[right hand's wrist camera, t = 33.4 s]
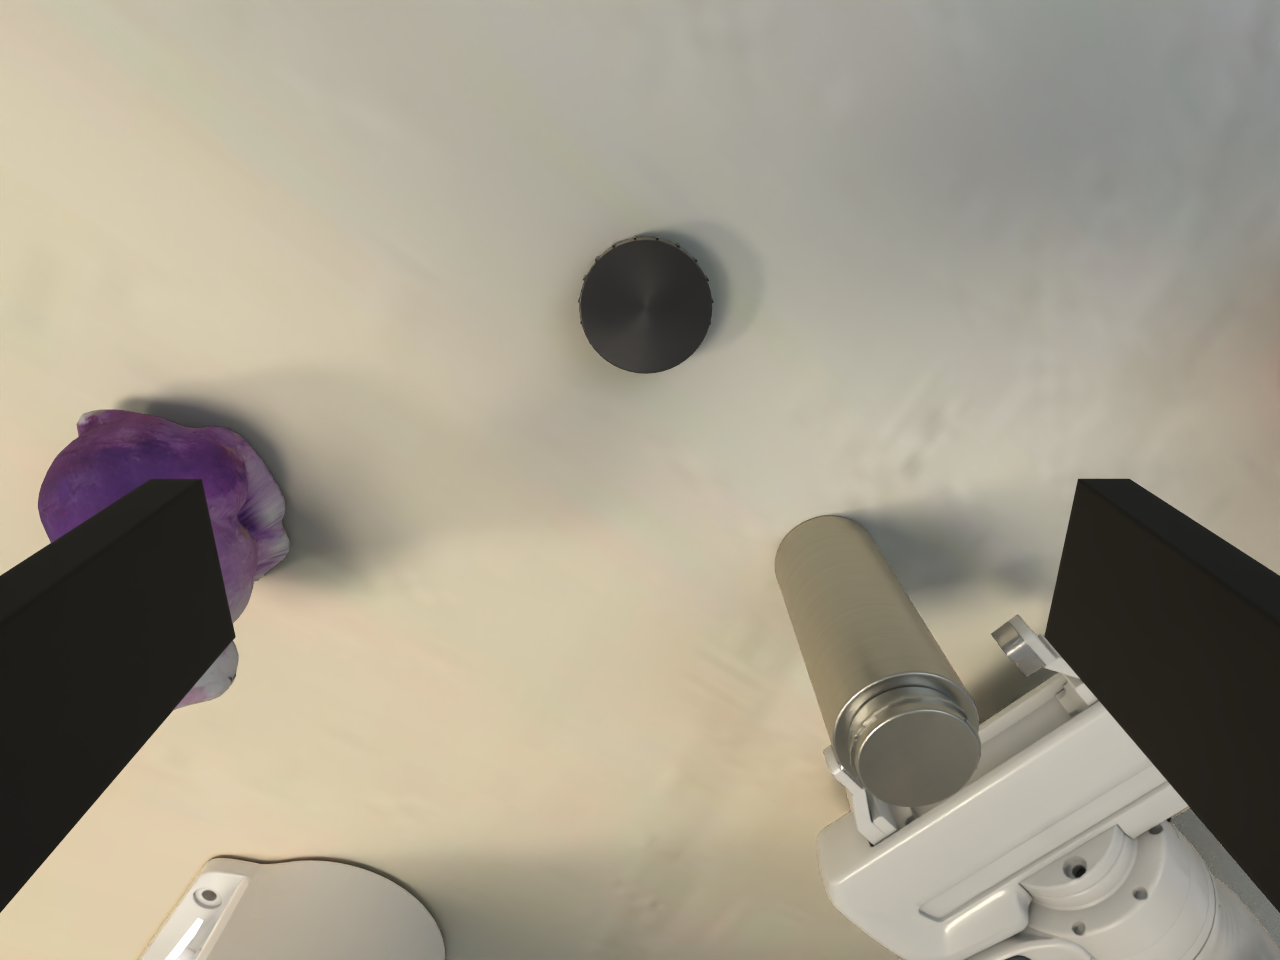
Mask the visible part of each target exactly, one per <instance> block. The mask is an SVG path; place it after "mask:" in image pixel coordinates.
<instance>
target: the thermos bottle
mask: <svg viewBox="0 0 1280 960" xmlns="http://www.w3.org/2000/svg"><path fill="white" fill-rule="evenodd" d="M775 572H776V577H777V580H778V583H779V586H780V589H781V592H782V595H783V598H784V601H785V604H786V607H787V610H788V613H789V616H790V619H791V622H792V625H793V628H794V631H795V634H796V637H797V640H798V643H799V646H800V650H801V653H802V656H803V659H804V662H805V665H806V668H807V671H808V674H809V677H810V680H811V683H812V686H813V689H814V692H815V695H816V698H817V701H818V704H819V707H820V710H821V713H822V716H823V719H824V722H825V725H826V728H827V731H828V734H829V737H830V740H831V743H832V746H833V749H834V753H835V756H836V757H837V759H838V761H839V763H840V764H841V766H842V767H843V768H844V769H845V770H846V771H847V772H848V773H849V774H850V775H851V776H852V777H854V778H855V779H856V780H858V781H859V782H860V783H861V785H862V786H863V787H864V788H865V790H867V791H868V792H870V793H871V794H872V795H873V796H875V797H876V798H878V799H879V800H881V801H883V802H886V803H888V804H892V805H895V806H901V807H920V806H926V805H930V804H934V803H937V802H940V801H942V800H944V799H946V798H948V797H950V796H951V795H953V794H955V793H956V792H957V791H959V790H960V789H961V788H962V787H963V786H964V785H965V784H966V783H967V782H968V780H969V779H970V778H971V776H972V775H973V773H974V771H975V770H976V769H977V766H978V763H979V760H980V757H981V744H982V743H981V740H980V737H979V734H978V730H979V717H978V712H977V708H976V706H975V704H974V701H973V700H972V698H971V697H970V695H969V693H968V692H967V690H966V689H965V687H964V685H963V684H962V682H961V680H960V679H959V677H958V676H957V674H956V672H955V671H954V669H953V668H952V666H951V664H950V663H949V661H948V659H947V658H946V656H945V655H944V653H943V651H942V650H941V648H940V647H939V645H938V643H937V642H936V640H935V639H934V637H933V635H932V634H931V632H930V630H929V629H928V627H927V626H926V624H925V622H924V621H923V619H922V618H921V616H920V614H919V613H918V611H917V609H916V608H915V606H914V605H913V603H912V601H911V600H910V598H909V597H908V595H907V593H906V592H905V590H904V588H903V587H902V585H901V584H900V582H899V580H898V579H897V577H896V576H895V574H894V572H893V571H892V569H891V567H890V566H889V564H888V563H887V561H886V559H885V558H884V556H883V555H882V553H881V551H880V550H879V548H878V547H877V545H876V543H875V542H874V540H873V538H872V537H871V535H870V534H869V533H868V532H867V530H866V529H864V528H863V527H862V526H861V525H859V524H858V523H856V522H854V521H852V520H850V519H847V518H843V517H837V516H823V517H818V518H814V519H811V520H808V521H806V522H804V523H802V524H800V525H798V526H797V527H796V528H794V529H793V530H792V531H791V532H790V533H789V534H788V535H787V536H786V537H785V538H784V540H783V541H782V543H781V545H780V546H779V549H778V551H777V554H776V559H775Z"/></svg>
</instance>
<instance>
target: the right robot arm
mask: <svg viewBox="0 0 1280 960" xmlns="http://www.w3.org/2000/svg"><path fill="white" fill-rule="evenodd" d="M234 638H235V632H234V628H233V623H232V618H231V614H230V609H229V604H228V599H227V595H226V590H225V585H224V581H223V576H222V571H221V567H220V562H219V557H218V553H217V548H216V543H215V538H214V534H213V529H212V524H211V520H210V515H209V510H208V506H207V501H206V496H205V491H204V487H203V482H202V479H150V480H148V481H147V482H145V483H143V484H142V485H140V486H139V487H137V488H136V489H134V490H133V491H131V492H130V493H128V494H126V495H125V496H123V497H122V498H120V499H119V500H117V501H116V502H114V503H112V504H111V505H109V506H108V507H106V508H105V509H103V510H102V511H100V512H99V513H97V514H95V515H94V516H92V517H91V518H89V519H88V520H86V521H85V522H83V523H81V524H80V525H78V526H77V527H75V528H74V529H72V530H71V531H69V532H68V533H66V534H64V535H63V536H61V537H60V538H58V539H57V540H55V541H54V542H52V543H50V544H49V545H47V546H46V547H44V548H43V549H41V550H40V551H38V552H37V553H35V554H33V555H32V556H30V557H29V558H27V559H26V560H24V561H23V562H21V563H19V564H18V565H16V566H15V567H13V568H12V569H10V570H9V571H7V572H6V573H4V574H2V575H1V576H0V913H1V911H2V910H3V909H4V908H5V907H6V905H7V904H8V903H9V902H10V901H11V900H12V898H13V897H14V896H15V895H16V894H17V893H18V891H19V890H20V889H21V888H22V887H23V886H24V884H25V883H26V882H27V881H28V880H29V879H30V877H31V876H32V875H33V874H34V873H35V872H36V870H37V869H38V868H39V867H40V866H41V864H42V863H43V862H44V861H45V860H46V859H47V857H48V856H49V855H50V854H51V853H52V852H53V850H54V849H55V848H56V847H57V846H58V845H59V843H60V842H61V841H62V840H63V839H64V838H65V836H66V835H67V834H68V833H69V832H70V830H71V829H72V828H73V827H74V826H75V825H76V823H77V822H78V821H79V820H80V819H81V818H82V816H83V815H84V814H85V813H86V812H87V811H88V809H89V808H90V807H91V806H92V805H93V804H94V802H95V801H96V800H97V799H98V798H99V797H100V795H101V794H102V793H103V792H104V791H105V789H106V788H107V787H108V786H109V785H110V784H111V782H112V781H113V780H114V779H115V778H116V777H117V775H118V774H119V773H120V772H121V771H122V770H123V768H124V767H125V766H126V765H127V764H128V763H129V761H130V760H131V759H132V758H133V757H134V755H135V754H136V753H137V752H138V751H139V750H140V748H141V747H142V746H143V745H144V744H145V743H146V741H147V740H148V739H149V738H150V737H151V736H152V734H153V733H154V732H155V731H156V730H157V729H158V727H159V726H160V725H161V724H162V723H163V722H164V720H165V719H166V718H167V717H168V716H169V714H170V713H171V712H172V711H173V710H174V709H175V707H176V706H177V705H178V704H179V703H180V702H181V700H182V699H183V698H184V697H185V696H186V695H187V693H188V692H189V691H190V690H191V689H192V688H193V686H194V685H195V684H196V683H197V682H198V681H199V679H200V678H201V677H202V676H203V675H204V673H205V672H206V671H207V670H208V669H209V668H210V666H211V665H212V664H213V663H214V662H215V661H216V659H217V658H218V657H219V656H220V655H221V654H222V652H223V651H224V650H225V649H226V648H227V647H228V645H229V644H230V643H231V642H232V641H233V639H234ZM1045 638H1046V639H1047V641H1048V642H1049V643H1050V644H1051V645H1052V647H1053V648H1054V649H1055V650H1056V651H1057V652H1058V654H1059V655H1060V656H1061V657H1062V658H1063V659H1064V661H1065V662H1066V663H1067V664H1068V665H1069V666H1070V668H1071V669H1072V670H1073V671H1074V672H1075V673H1076V675H1077V676H1078V677H1079V678H1080V679H1081V681H1082V682H1083V683H1084V684H1085V685H1086V686H1087V688H1088V689H1089V690H1090V691H1091V692H1092V693H1093V695H1094V696H1095V697H1096V698H1097V699H1098V700H1099V702H1100V703H1101V704H1102V705H1103V706H1104V707H1105V709H1106V710H1107V711H1108V712H1109V713H1110V714H1111V716H1112V717H1113V718H1114V719H1115V720H1116V722H1117V723H1118V724H1119V725H1120V726H1121V727H1122V729H1123V730H1124V731H1125V732H1126V733H1127V734H1128V736H1129V737H1130V738H1131V739H1132V740H1133V741H1134V743H1135V744H1136V745H1137V746H1138V747H1139V748H1140V750H1141V751H1142V752H1143V753H1144V754H1145V756H1146V757H1147V758H1148V759H1149V760H1150V761H1151V763H1152V764H1153V765H1154V766H1155V767H1156V768H1157V770H1158V771H1159V772H1160V773H1161V774H1162V775H1163V777H1164V778H1165V779H1166V780H1167V781H1168V782H1169V784H1170V785H1171V786H1172V787H1173V788H1174V789H1175V791H1176V792H1177V793H1178V794H1179V795H1180V797H1181V798H1182V799H1183V800H1184V801H1185V802H1186V804H1187V805H1188V806H1189V807H1190V808H1191V809H1192V811H1193V812H1194V813H1195V814H1196V815H1197V816H1198V818H1199V819H1200V820H1201V821H1202V822H1203V823H1204V825H1205V826H1206V827H1207V828H1208V829H1209V830H1210V832H1211V833H1212V834H1213V835H1214V836H1215V838H1216V839H1217V840H1218V841H1219V842H1220V843H1221V845H1222V846H1223V847H1224V848H1225V849H1226V850H1227V852H1228V853H1229V854H1230V855H1231V856H1232V857H1233V859H1234V860H1235V861H1236V862H1237V863H1238V864H1239V866H1240V867H1241V868H1242V869H1243V870H1244V872H1245V873H1246V874H1247V875H1248V876H1249V877H1250V879H1251V880H1252V881H1253V882H1254V883H1255V884H1256V886H1257V887H1258V888H1259V889H1260V890H1261V891H1262V893H1263V894H1264V895H1265V896H1266V897H1267V898H1268V900H1269V901H1270V902H1271V903H1272V904H1273V905H1274V907H1275V908H1276V909H1277V910H1278V911H1279V913H1280V576H1279V575H1278V574H1276V573H1274V572H1273V571H1271V570H1270V569H1268V568H1267V567H1265V566H1264V565H1262V564H1261V563H1259V562H1257V561H1256V560H1254V559H1253V558H1251V557H1250V556H1248V555H1247V554H1245V553H1243V552H1242V551H1240V550H1239V549H1237V548H1236V547H1234V546H1233V545H1231V544H1230V543H1228V542H1226V541H1225V540H1223V539H1222V538H1220V537H1219V536H1217V535H1216V534H1214V533H1212V532H1211V531H1209V530H1208V529H1206V528H1205V527H1203V526H1202V525H1200V524H1199V523H1197V522H1195V521H1194V520H1192V519H1191V518H1189V517H1188V516H1186V515H1185V514H1183V513H1181V512H1180V511H1178V510H1177V509H1175V508H1174V507H1172V506H1171V505H1169V504H1168V503H1166V502H1164V501H1163V500H1161V499H1160V498H1158V497H1157V496H1155V495H1154V494H1152V493H1150V492H1149V491H1147V490H1146V489H1144V488H1143V487H1141V486H1140V485H1138V484H1137V483H1135V482H1133V481H1132V480H1130V479H1078V482H1077V487H1076V491H1075V496H1074V501H1073V506H1072V510H1071V515H1070V520H1069V524H1068V529H1067V534H1066V538H1065V543H1064V548H1063V553H1062V557H1061V562H1060V567H1059V571H1058V576H1057V581H1056V585H1055V590H1054V595H1053V599H1052V604H1051V609H1050V614H1049V618H1048V623H1047V628H1046V632H1045Z"/></svg>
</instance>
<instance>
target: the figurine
mask: <svg viewBox="0 0 1280 960" xmlns="http://www.w3.org/2000/svg"><path fill="white" fill-rule="evenodd" d="M77 429H78V435H79V437H78V438H77V439H75V440H74V441H72V442H71V443H70V444H69V445H68V446H67V447H66V448H64V449H63V450H62V451H61V452H60V453H59V455H58V456H57V457H56V458H55V460H54V461H53V463H52V465H51V466H50V468H49V470H48V471H47V474H46V476H45V478H44V481H43V483H42V485H41V489H40V492H39V499H38V509H39V514H40V518H41V522H42V524H43V526H44V529H45V531H46V533H47V535H48V537H49V539H50V541H51V543H52V542H54V541H55V540H57V539H58V538H60V537H61V536H63V535H64V534H66V533H68V532H69V531H71V530H72V529H74V528H75V527H77V526H78V525H80V524H81V523H83V522H85V521H86V520H88V519H89V518H91V517H92V516H94V515H95V514H97V513H99V512H100V511H102V510H103V509H105V508H106V507H108V506H109V505H111V504H112V503H114V502H116V501H117V500H119V499H120V498H122V497H123V496H125V495H126V494H128V493H130V492H131V491H133V490H134V489H136V488H137V487H139V486H140V485H142V484H143V483H145V482H147V481H148V480H150V479H202V482H203V487H204V491H205V496H206V501H207V506H208V510H209V515H210V520H211V524H212V529H213V534H214V538H215V543H216V548H217V553H218V557H219V562H220V567H221V571H222V576H223V581H224V585H225V590H226V595H227V599H228V604H229V609H230V614H231V618H232V623H234V622H235V621H236V620H237V619H238V618H239V616H240V615H241V614H242V612H243V611H244V609H245V607H246V606H247V604H248V602H249V599H250V596H251V593H252V589H253V584H254V581H258V580H259V579H260V578H262V577H263V576H264V575H265V573H266V572H268V571H269V570H271V569H272V567H275V566H276V564H279V562H280V561H282V560H283V559H284V558H285V557H286V556H287V554H288V552H289V549H290V541H289V538H288V537H287V534H286V531H285V529H284V528H283V525H282V519H283V517H284V515H285V510H286V508H285V500H284V497H283V496H282V494H281V490H280V488H279V487H278V485H277V483H276V482H274V480H273V476H272V475H271V474H270V472H269V471H268V469H267V467H266V466H265V464H264V462H263V461H262V459H261V458H260V457H259V456H258V455H257V453H256V452H255V450H254V449H252V448H251V446H250V444H249V443H248V442H247V441H246V440H245V439H244V437H242V436H241V435H239V434H237V433H235V432H233V431H231V430H230V429H228V428H223V427H218V426H208V427H202V428H193V427H185V426H182V425H179V424H177V423H174V422H172V421H169V420H166V419H163V418H160V417H157V416H151V415H146V414H140V413H135V412H129V411H124V410H96V411H91V412H88V413H85V414H83V415H82V416H81V417H80V419H79V421H78V423H77ZM237 665H238V652H237V649H236V646H235V644H234V642H233V641H232V642H231V643H230V644H229V645H228V647H227V648H226V649H225V650H224V651H223V652H222V654H221V655H220V656H219V657H218V658H217V659H216V661H215V662H214V663H213V664H212V665H211V666H210V668H209V669H208V670H207V671H206V672H205V673H204V675H203V676H202V677H201V678H200V679H199V681H198V682H197V683H196V684H195V685H194V686H193V688H192V689H191V690H190V691H189V692H188V693H187V695H186V696H185V697H184V698H183V699H182V700H181V702H180V703H179V704H178V705H177V706H176V707H175V709H178V708H181V707H185V706H188V705H191V704H196V703H200V702H205V701H209V700H212V699H215V698H217V697H219V696H221V695H222V694H223V693H224V692H225V691H226V690H227V689H228V688H229V687H230V685H231V684H232V683H233V681H234V679H235V677H236V670H237ZM175 709H174V710H175Z"/></svg>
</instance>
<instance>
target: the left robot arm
mask: <svg viewBox="0 0 1280 960" xmlns="http://www.w3.org/2000/svg"><path fill="white" fill-rule="evenodd" d="M991 635H992V636H993V638H994V639H995V640H996V641H997V642H998V645H999V646H1000V647H1001V648H1002V650H1003V651H1004V652H1005V653H1006V655H1007V656H1008V657H1009V658H1010V659H1011V660H1012V661H1013V662H1014V663H1015V664H1016V665H1017V667H1018V668H1019V669H1020V670H1021V671H1022V672H1023V674H1024V675H1025V676H1026V677H1029V676H1030V675H1032V674H1033V673H1035V672H1036V671H1038V670H1040V669H1041V668H1043V667H1044V668H1046V669H1049V670H1052V671H1055V672H1058V673H1057V674H1055V675H1054V676H1052V677H1051V678H1049V679H1048V680H1046V681H1045V682H1043V683H1042V684H1040V685H1039V686H1037V687H1035V688H1034V689H1032V690H1031V691H1029V692H1028V693H1026V694H1025V695H1023V696H1022V697H1020V698H1019V699H1017V700H1016V701H1014V702H1013V703H1012V704H1010V705H1009V706H1007V707H1006V708H1004V709H1003V710H1001V711H1000V712H998V713H997V714H995V715H994V716H992V717H991V718H989V719H988V720H986V721H985V722H983V723H982V724H980V725H979V730H978V734H979V737H980V740H981V743H982V744H981V757H980V760H979V763H978V766H977V769H976V770H975V771H974V773H973V775H972V776H971V778H970V779H969V780H968V782H967V783H966V784H965V785H964V786H963V787H962V788H961V789H960V790H959V791H957V792H956V793H955V794H953V795H951V796H950V797H948V798H946V799H944V800H942V801H940V802H937V803H934V804H930V805H926V806H920V807H901V806H895V805H892V804H888V803H886V802H883V801H881V800H879V799H878V798H876V797H875V796H873V795H872V794H871V793H870V792H868V791H867V790H865V788H864V787H863V786H862V785H861V783H860V782H859V781H858V780H856V779H855V778H854V777H852V776H851V775H850V774H849V773H848V772H847V771H846V770H845V769H844V768H843V767H842V766H841V764H840V763H839V761H838V759H837V757H836V756H835V753H834V749H833V746H832V745H830V746H829V747H827V748H826V749H824V750H823V753H824V756H825V759H826V762H827V766H828V768H829V770H830V771H831V773H832V774H833V776H834V777H835V778H836V779H837V780H838V781H839V782H840V783H841V784H842V785H843V786H844V787H846V792H847V798H848V801H849V804H850V807H851V811H850V812H848V813H847V814H845V815H844V816H842V817H841V818H839V819H838V820H836V821H835V822H833V823H831V824H830V825H828V826H827V827H825V828H824V829H822V830H821V831H820V832H819V834H818V836H817V861H818V866H819V871H820V875H821V878H822V882H823V885H824V888H825V890H826V893H827V895H828V897H829V899H830V901H831V903H832V904H833V905H834V906H835V907H836V909H837V910H838V911H839V912H840V913H842V914H843V915H844V916H845V917H846V918H847V919H848V920H849V921H851V922H852V923H853V924H854V925H856V926H857V927H858V928H859V929H861V930H862V931H863V932H864V933H866V934H867V935H868V936H870V937H871V938H872V939H874V940H875V941H876V942H878V943H879V944H881V945H882V946H883V947H885V948H886V949H888V950H889V951H891V952H892V953H894V954H895V955H897V956H899V957H900V958H902V959H904V960H1280V949H1279V947H1278V946H1277V944H1276V943H1275V941H1274V940H1273V939H1272V937H1271V936H1270V935H1269V933H1268V932H1267V931H1266V929H1265V928H1264V927H1263V925H1262V924H1261V923H1260V922H1259V920H1258V919H1257V918H1256V917H1255V916H1254V914H1253V913H1252V912H1251V911H1250V910H1249V908H1248V907H1247V906H1246V905H1245V904H1244V903H1243V902H1242V900H1241V899H1240V898H1239V897H1238V896H1237V895H1236V894H1235V893H1234V892H1233V891H1232V890H1231V889H1230V888H1229V887H1228V886H1227V885H1225V884H1224V883H1223V882H1222V881H1220V880H1219V879H1217V878H1216V877H1215V876H1213V875H1212V873H1211V871H1210V869H1209V868H1208V866H1207V864H1206V863H1205V861H1204V860H1203V858H1202V857H1201V856H1200V854H1199V853H1198V851H1197V850H1196V849H1195V848H1194V847H1193V846H1192V845H1191V844H1190V843H1189V841H1188V840H1187V839H1186V838H1185V837H1184V836H1183V835H1182V834H1181V833H1180V831H1179V830H1178V829H1177V828H1176V827H1175V826H1174V825H1173V824H1172V823H1171V820H1170V819H1173V818H1174V816H1175V817H1177V816H1178V815H1180V814H1182V813H1183V812H1185V811H1187V810H1188V809H1190V807H1189V806H1188V805H1187V804H1186V802H1185V801H1184V800H1183V799H1182V798H1181V797H1180V795H1179V794H1178V793H1177V792H1176V791H1175V789H1174V788H1173V787H1172V786H1171V785H1170V784H1169V782H1168V781H1167V780H1166V779H1165V778H1164V777H1163V775H1162V774H1161V773H1160V772H1159V771H1158V770H1157V768H1156V767H1155V766H1154V765H1153V764H1152V763H1151V761H1150V760H1149V759H1148V758H1147V757H1146V756H1145V754H1144V753H1143V752H1142V751H1141V750H1140V748H1139V747H1138V746H1137V745H1136V744H1135V743H1134V741H1133V740H1132V739H1131V738H1130V737H1129V736H1128V734H1127V733H1126V732H1125V731H1124V730H1123V729H1122V727H1121V726H1120V725H1119V724H1118V723H1117V722H1116V720H1115V719H1114V718H1113V717H1112V716H1111V714H1110V713H1109V712H1108V711H1107V710H1106V709H1105V707H1104V706H1103V705H1102V704H1101V703H1100V702H1099V700H1098V699H1097V698H1096V697H1095V696H1094V695H1093V693H1092V692H1091V691H1090V690H1089V689H1088V688H1087V686H1086V685H1085V684H1084V683H1083V682H1082V681H1081V679H1080V678H1079V677H1078V676H1077V675H1076V673H1075V672H1074V671H1073V670H1072V669H1071V668H1070V666H1069V665H1068V664H1067V663H1066V662H1065V661H1064V659H1063V658H1062V657H1061V656H1060V655H1059V654H1058V652H1057V651H1056V650H1055V649H1054V648H1053V647H1052V645H1051V644H1050V643H1049V642H1048V641H1047V639H1046V638H1045V636H1044V635H1038V636H1037V635H1036V634H1035V633H1034V632H1033V630H1032V629H1031V628H1030V627H1029V626H1028V625H1027V624H1026V622H1025V621H1024V620H1023V619H1022V618H1021V617H1020V616H1019V615H1016V616H1015V617H1013V618H1012V619H1010V620H1009V621H1008V622H1006V623H1005V624H1004V625H1002V626H1001V627H1000V628H998V629H997V630H996V631H994V632H993V633H991ZM138 960H445V947H444V942H443V938H442V935H441V932H440V930H439V928H438V926H437V924H436V922H435V920H434V919H433V917H432V916H431V914H430V913H429V912H428V910H427V909H426V908H425V907H424V906H423V905H422V904H421V903H420V902H419V901H418V900H417V899H416V898H415V897H414V896H413V895H412V894H410V893H409V892H408V891H406V890H405V889H403V888H402V887H400V886H399V885H397V884H396V883H394V882H392V881H391V880H389V879H387V878H385V877H383V876H380V875H378V874H376V873H373V872H371V871H368V870H365V869H362V868H359V867H356V866H352V865H347V864H343V863H337V862H330V861H316V860H304V861H292V862H284V863H276V864H259V863H254V862H248V861H243V860H237V859H230V858H215V859H211V860H209V861H208V862H206V863H205V864H204V866H203V867H202V868H201V870H200V871H199V873H198V874H197V875H196V877H195V878H194V880H193V881H192V883H191V884H190V885H189V887H188V888H187V890H186V891H185V893H184V894H183V895H182V897H181V898H180V900H179V901H178V903H177V904H176V905H175V907H174V908H173V910H172V911H171V913H170V914H169V915H168V917H167V918H166V920H165V921H164V923H163V924H162V925H161V927H160V928H159V930H158V931H157V933H156V934H155V935H154V937H153V938H152V940H151V941H150V943H149V944H148V945H147V947H146V948H145V950H144V951H143V953H142V954H141V956H140V957H139V958H138Z"/></svg>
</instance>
